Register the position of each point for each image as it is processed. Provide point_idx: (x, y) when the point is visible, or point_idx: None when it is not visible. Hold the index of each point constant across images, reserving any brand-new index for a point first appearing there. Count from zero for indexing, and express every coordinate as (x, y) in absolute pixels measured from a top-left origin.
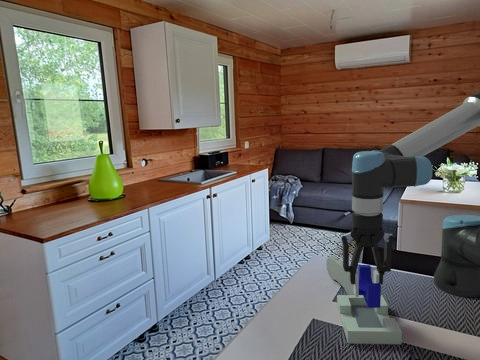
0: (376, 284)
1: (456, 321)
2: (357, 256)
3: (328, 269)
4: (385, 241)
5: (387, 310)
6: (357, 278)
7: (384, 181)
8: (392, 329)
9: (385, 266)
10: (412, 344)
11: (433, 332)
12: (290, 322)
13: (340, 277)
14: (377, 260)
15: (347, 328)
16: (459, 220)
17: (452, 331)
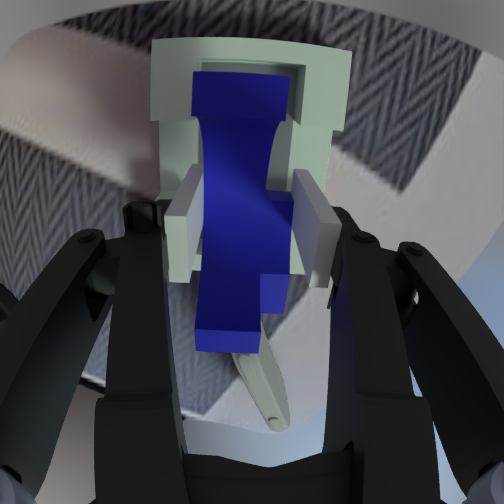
0: (219, 96)
1: (3, 176)
2: (382, 332)
3: (285, 395)
4: (9, 481)
5: (158, 195)
6: (322, 210)
7: None
8: (180, 50)
9: (101, 270)
10: (131, 48)
11: (58, 116)
12: (458, 180)
13: (270, 362)
14: (151, 295)
15: (348, 66)
16: None
17: (18, 129)
